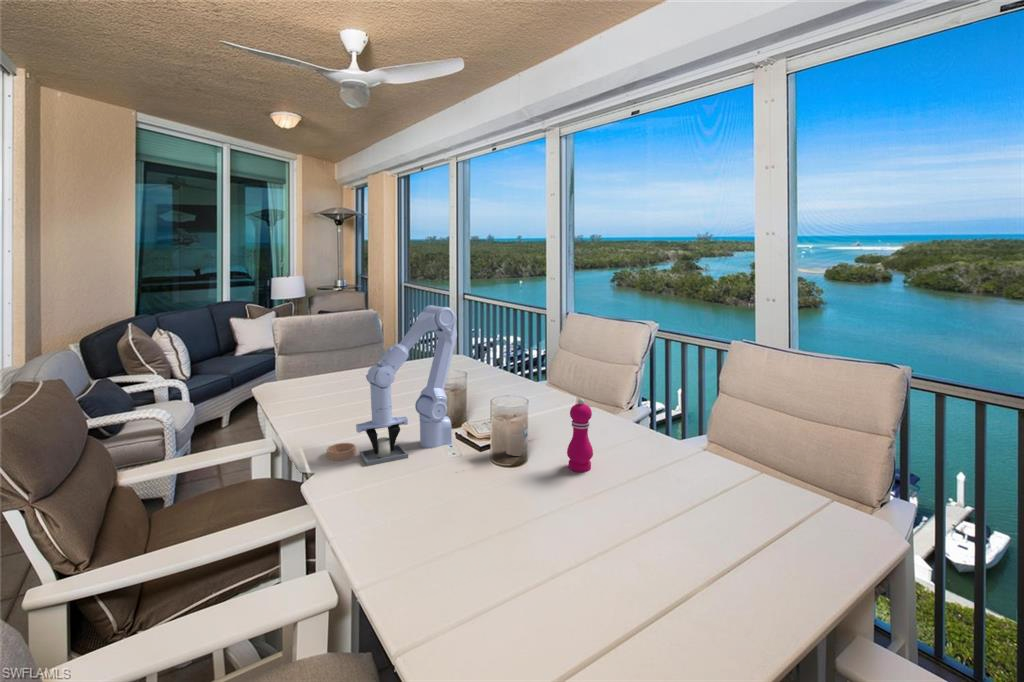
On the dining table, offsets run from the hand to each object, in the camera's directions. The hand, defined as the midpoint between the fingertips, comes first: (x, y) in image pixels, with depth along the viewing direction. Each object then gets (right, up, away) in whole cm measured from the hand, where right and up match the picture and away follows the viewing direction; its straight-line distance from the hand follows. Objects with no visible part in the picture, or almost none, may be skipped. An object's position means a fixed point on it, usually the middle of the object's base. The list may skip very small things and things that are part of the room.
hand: (383, 451), depth 143 cm
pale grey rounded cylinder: (0, -1, 0) cm, 1 cm away
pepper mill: (+57, -3, -6) cm, 57 cm away
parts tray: (0, -2, 0) cm, 2 cm away
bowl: (-13, -2, +2) cm, 13 cm away
